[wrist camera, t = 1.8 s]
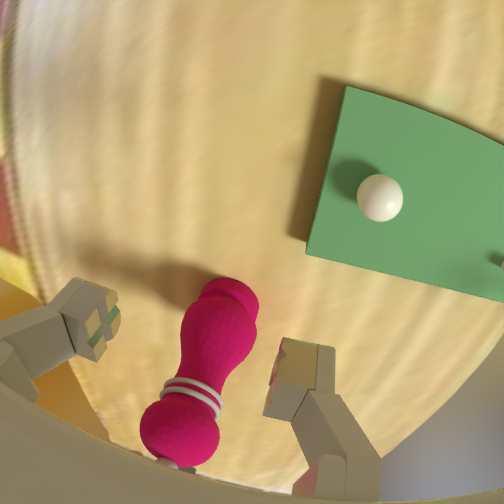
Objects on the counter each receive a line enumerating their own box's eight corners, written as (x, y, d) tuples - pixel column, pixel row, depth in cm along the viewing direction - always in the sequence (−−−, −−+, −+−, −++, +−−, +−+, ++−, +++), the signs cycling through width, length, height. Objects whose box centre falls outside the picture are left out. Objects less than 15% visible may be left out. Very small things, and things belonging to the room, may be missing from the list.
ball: (361, 162, 22) (367, 176, 19) (403, 175, 22) (414, 191, 19) (349, 204, 24) (353, 223, 21) (389, 214, 24) (398, 235, 21)
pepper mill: (213, 261, 32) (120, 445, 15) (276, 296, 33) (229, 491, 16) (188, 305, 36) (108, 463, 19) (244, 335, 36) (192, 500, 20)
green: (344, 85, 21) (376, 95, 9) (581, 193, 19) (660, 266, 7) (302, 256, 30) (284, 382, 18) (522, 310, 27) (566, 403, 15)
